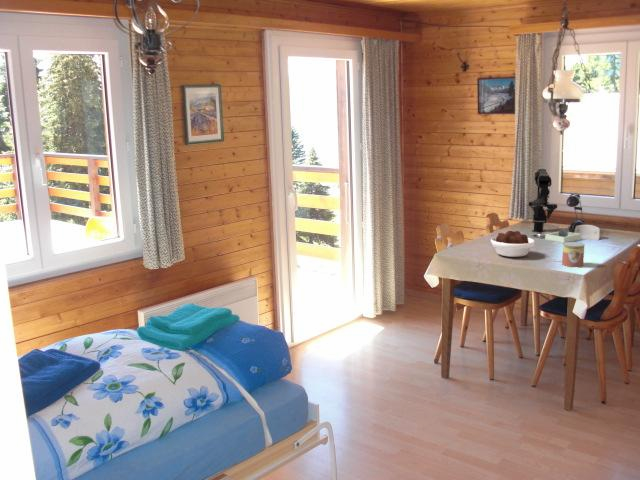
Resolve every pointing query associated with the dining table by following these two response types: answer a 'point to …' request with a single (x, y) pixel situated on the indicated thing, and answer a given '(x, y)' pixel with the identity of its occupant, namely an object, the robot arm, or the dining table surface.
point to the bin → (556, 238)
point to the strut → (563, 231)
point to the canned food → (573, 254)
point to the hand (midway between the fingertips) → (542, 218)
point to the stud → (539, 235)
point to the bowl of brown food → (512, 244)
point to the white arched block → (588, 232)
